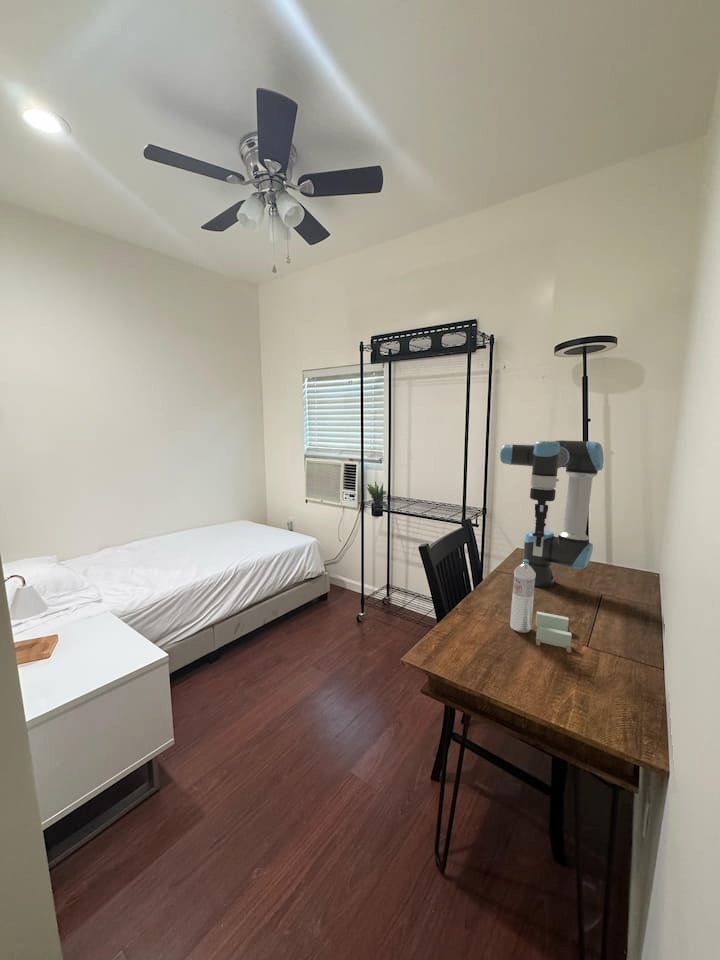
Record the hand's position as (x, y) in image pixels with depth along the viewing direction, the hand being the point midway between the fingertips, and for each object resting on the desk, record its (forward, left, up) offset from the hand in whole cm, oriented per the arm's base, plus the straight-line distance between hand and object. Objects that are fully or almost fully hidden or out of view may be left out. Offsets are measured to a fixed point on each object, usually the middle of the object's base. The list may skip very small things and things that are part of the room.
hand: (537, 549), depth 129 cm
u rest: (+4, +5, -29) cm, 30 cm away
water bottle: (-1, -3, -29) cm, 29 cm away
